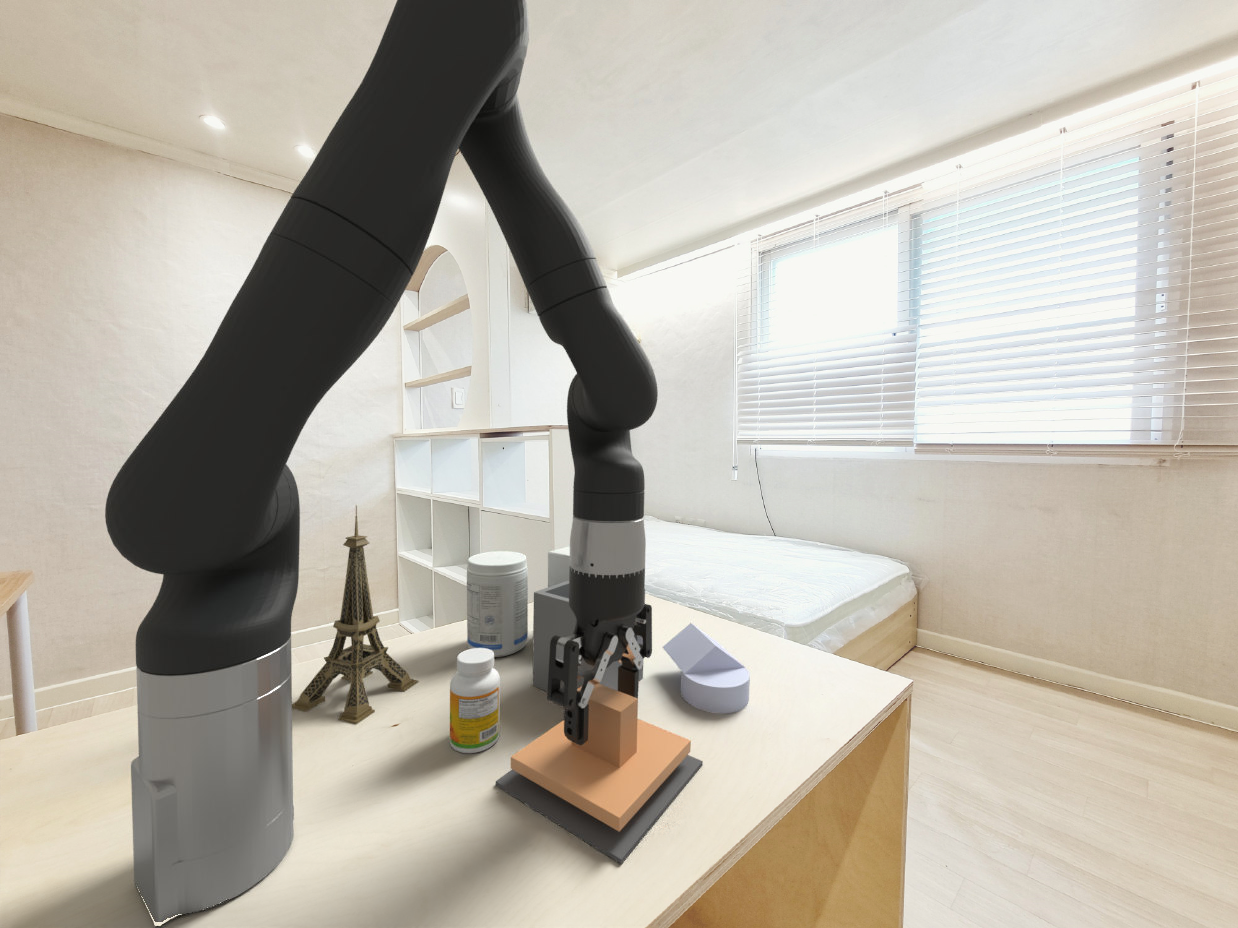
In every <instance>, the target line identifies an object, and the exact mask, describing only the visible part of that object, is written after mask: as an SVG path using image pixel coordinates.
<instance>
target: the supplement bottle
mask: <svg viewBox="0 0 1238 928" xmlns="http://www.w3.org/2000/svg"><path fill="white" fill-rule="evenodd" d="M500 705H501V677H500V673H499V671H498V670H497V669H495V657H494V653H493V651H492V650H490V649H486V648H473V649H469V648H468V649H466V650H464V651H461V652H459V654H458V655H457V658H456V673H455V674H454V675H453V676H451V679H450V682H449V743H450V746H451V747H452V749H453V750H455V751H457V752H459V753H462V754H463V753H464V754H473V753H474V754H475V753H480V752H483V751H485V750H486V751H487V749H489V748H491V747H492V746H494V745H495V744H496V743H497V741H498V740H499V737H500V728H501V727H500V725H501V724H500V722H501V721H500V720H501V719H500V718H501V717H500V716H501V715H500V714H501V706H500Z"/></svg>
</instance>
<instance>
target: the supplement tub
mask: <svg viewBox="0 0 1238 928" xmlns="http://www.w3.org/2000/svg"><path fill="white" fill-rule="evenodd" d="M528 571H529V570H528V561H527V556H526V555H525V554H524V553H521V552H517V551H510V550H508V551H506V550H497V551H495V550H494V551H488V552H487V551H486V552H482V553H481V552H480V553H477V554H474V555H471V556H470V557H468V559H467V567H466V618H467V619H466V625H467V626H466V629H467V630H466V631H467V632H466V633H467V636H466V637H467V639H466V640H467V647H468V649H473V648H486V649H490V650H492V651H493V653H494V658H501V657H502V658H503V657H506V656H511V655H513V654H516V653H517V652H519V651H521V650H523V648H525V646H526V645H527V643H528V637H529V636H528V634H529V633H528V631H529V630H528V626H529V625H528V622H529V621H528V619H529V617H528V616H529V615H528V612H529V611H528V610H529V609H528V607H529V606H528V604H529V603H528V601H529V600H528V598H529V596H528V595H529V594H528V593H529V591H528V590H529V587H528V586H529V585H528V581H529V580H528V578H529V577H528Z"/></svg>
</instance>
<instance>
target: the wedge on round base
mask: <svg viewBox="0 0 1238 928" xmlns="http://www.w3.org/2000/svg"><path fill="white" fill-rule="evenodd" d="M662 649H663V650H664V651H665V652H666V653H667V655H668V656H669V657H670V659H671V660H672V661H673V663H674V664H675V665H676V666H677V667H678V668H679V670H680V671H681V672H680V673H681V674H680V675H681V676H680V695H681V694H682V695H681V697H682V696H683V697H682V699H683V698H684V699H685V700H684V699H683V700H684V701H685V702H686V701H687V702H688V703H687V702H686V703H687V704H689V705H690V704H691V705H690V706H692V707H694V708H695V707H696V708H695V709H698V710H701V711H704V712H707V713H713V714H730V713H731V714H732V713H736V712H737V713H738V712H740V711H741V710H743V709H745V708H746V707H747V706H748V705H749V703H750V685H751V684H750V681H751V680H750V679H751V674H750V672H749V670H748V668H746V666H745V665H744V664H742V663H741V662H740V661H739V660H738V659H737V658H736V657H735V656H733V654H731V653H730V651H728V650H727V649H726V648H725V647H723V646H722V644H720V643H719V642H718V641H717V640H716V639H714V638H712V637H711V636H710V635H709V634H707V633H706V632H705V631H703V630H701V629H700V628H699V627H698V626H696V625H695V624H693V623H692V622H690V623H689V624H688V625H686V626H685V627H684V628H683V629H682V630H681V631H679V632H678V633H677V634H676V635H675V636H673V637H672V638H671V639H670V640H668V641H667V642H666V643H665V644H664V645H663V646H662ZM748 702H749V703H748ZM747 704H748V705H747Z"/></svg>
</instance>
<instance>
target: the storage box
mask: <svg viewBox="0 0 1238 928" xmlns="http://www.w3.org/2000/svg"><path fill="white" fill-rule="evenodd" d="M644 603H645V604H646V589H645V590H644ZM532 617H533V629H532V635H533V636H532V686H533V687H536V688H538V689H540V690H542V691H545V692H547V690H548V673H549V655H550V642H551V639H552V637H553V636H555V635H557V636H560V637H563V638H565V637H568V636H570V635H573V632H574V629H575V625H576V617H575V615H574V613H573V611H572V610H571V608H570V606H569V580H568V581H565V582H563V583H560V584H557V585H554V586H551V587H548V586H547V587H544V588H543V589H540V590H537V591H533V616H532ZM637 643H639V644H643V638H642V637H641V636H639V635H637ZM621 665H622V664H621V663H619V661H614V662H613V663H612V664H611V665H610V666H609V667H607V668H606V669H605V672H604V674H603V677H602V679H601V682H600V683H598V684H601V685H604V686H606V687H609V688H612V689H614V690H617V691H618V667H619V666H621ZM580 667H581V668H584V669H586V670H592V669H593V668H594V666H591V665H588V664H587V663H586V662H585V661H584V659H583V658H582V661H581V664H580ZM642 679H644V665H643V666H642V668H641V669H639V681H638V682H640V681H641V680H642ZM583 683H584V679H583V678H579V679H578V681H577V689H578V688H580V687H581V686H582V685H583ZM563 686H564V682H563V681H561V682H560V689H562V688H563Z"/></svg>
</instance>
